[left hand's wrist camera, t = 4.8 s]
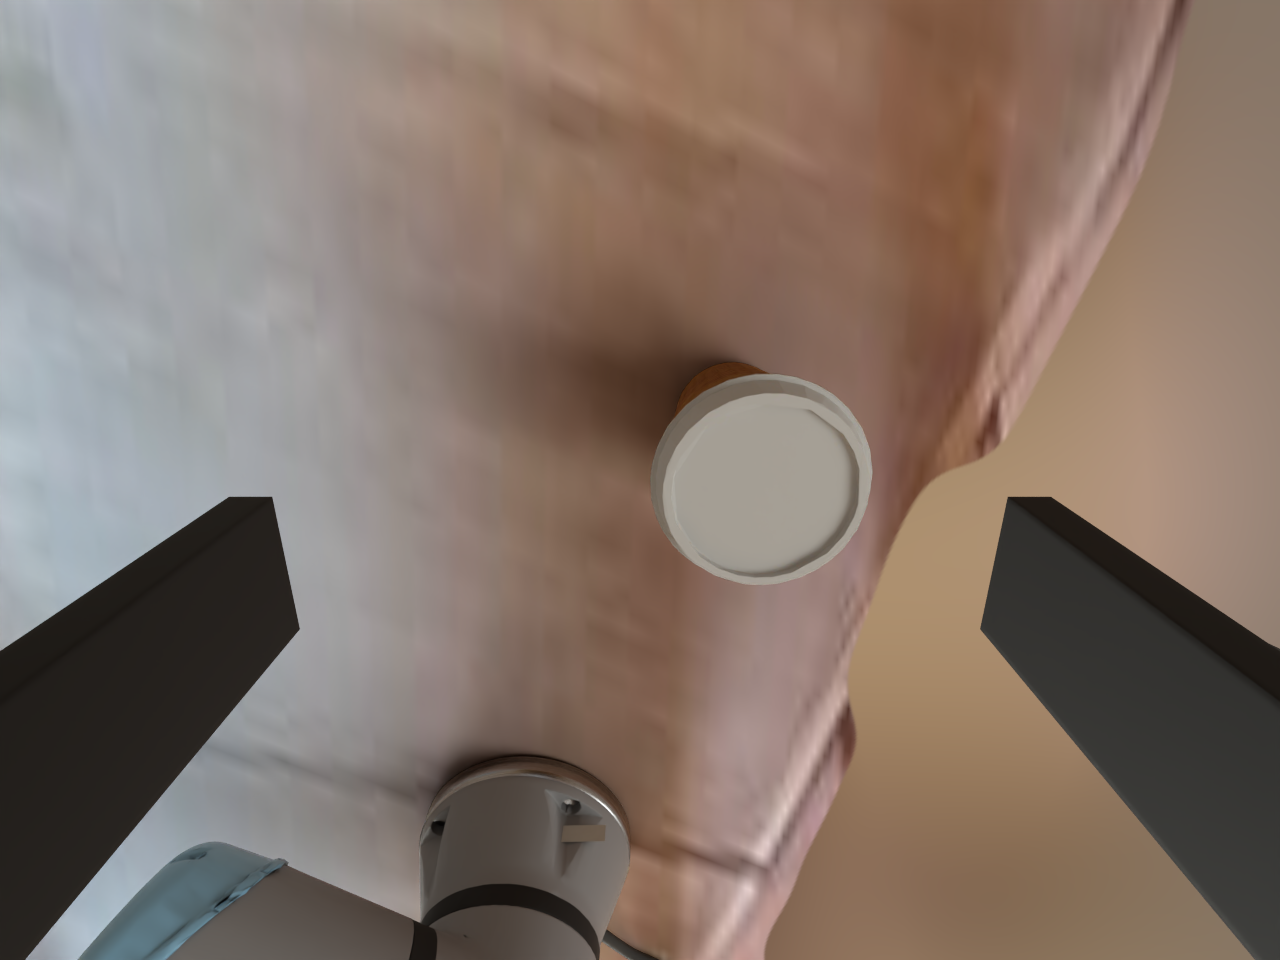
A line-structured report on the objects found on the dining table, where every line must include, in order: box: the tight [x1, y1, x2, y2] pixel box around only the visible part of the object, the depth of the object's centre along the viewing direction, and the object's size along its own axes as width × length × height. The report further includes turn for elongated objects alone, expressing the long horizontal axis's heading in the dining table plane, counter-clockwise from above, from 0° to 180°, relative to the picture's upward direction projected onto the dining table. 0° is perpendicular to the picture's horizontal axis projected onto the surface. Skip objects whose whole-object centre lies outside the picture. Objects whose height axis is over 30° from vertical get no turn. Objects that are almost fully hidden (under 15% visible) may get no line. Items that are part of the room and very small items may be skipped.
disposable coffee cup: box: [650, 362, 872, 585], centre depth 34 cm, size 10×10×12 cm
